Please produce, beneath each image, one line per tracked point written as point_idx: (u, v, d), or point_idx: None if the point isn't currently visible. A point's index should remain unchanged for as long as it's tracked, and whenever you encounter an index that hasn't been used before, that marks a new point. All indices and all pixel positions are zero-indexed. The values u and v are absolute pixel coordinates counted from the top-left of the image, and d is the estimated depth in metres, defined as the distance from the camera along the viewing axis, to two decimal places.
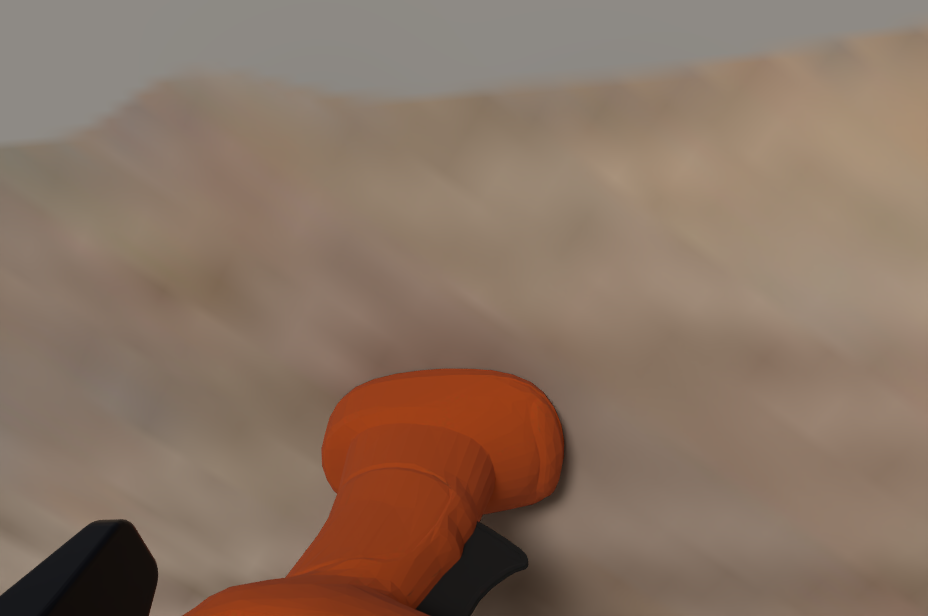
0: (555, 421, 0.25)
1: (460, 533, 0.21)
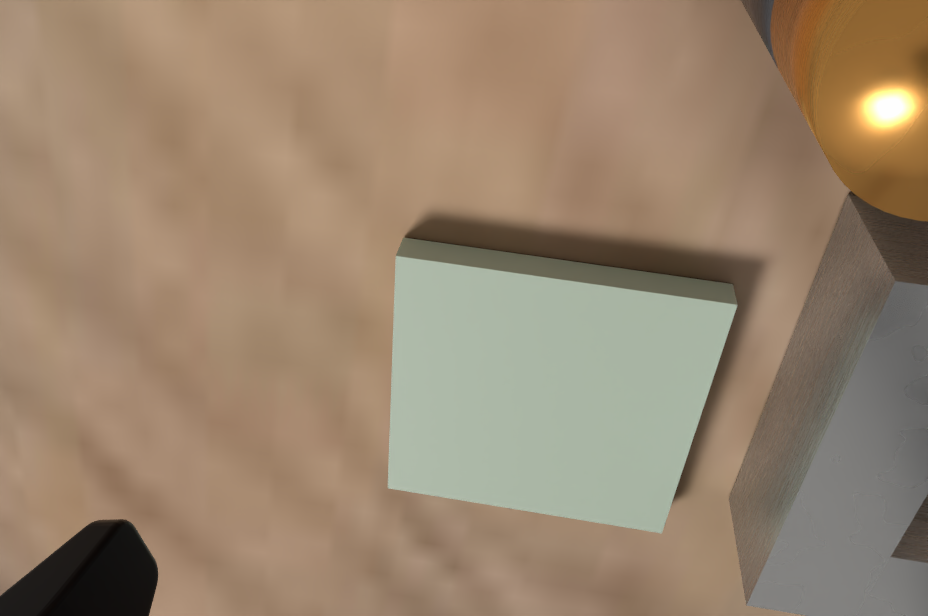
0: None
1: None
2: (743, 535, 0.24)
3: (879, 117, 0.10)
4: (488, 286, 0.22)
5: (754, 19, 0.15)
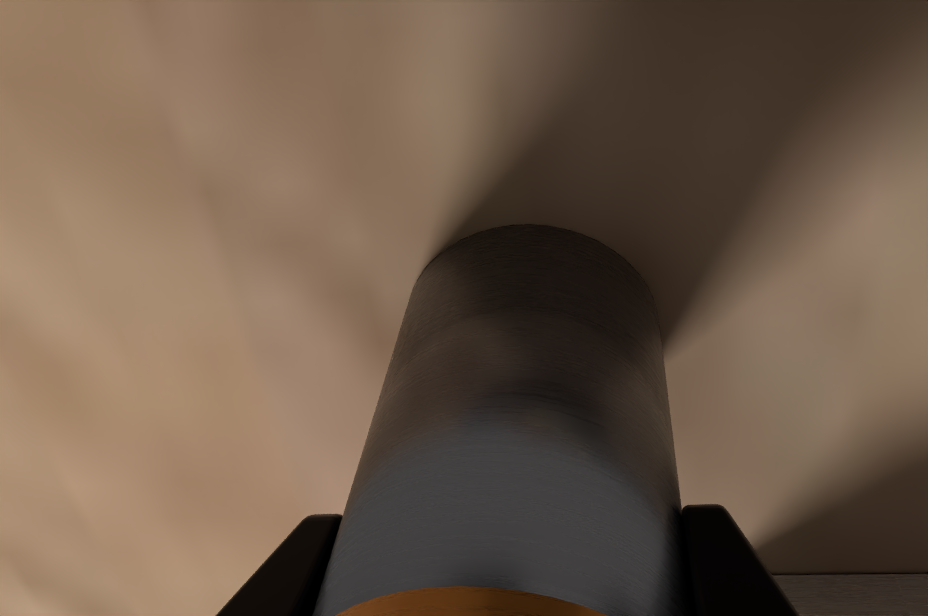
0: None
1: None
2: None
3: None
4: None
5: None
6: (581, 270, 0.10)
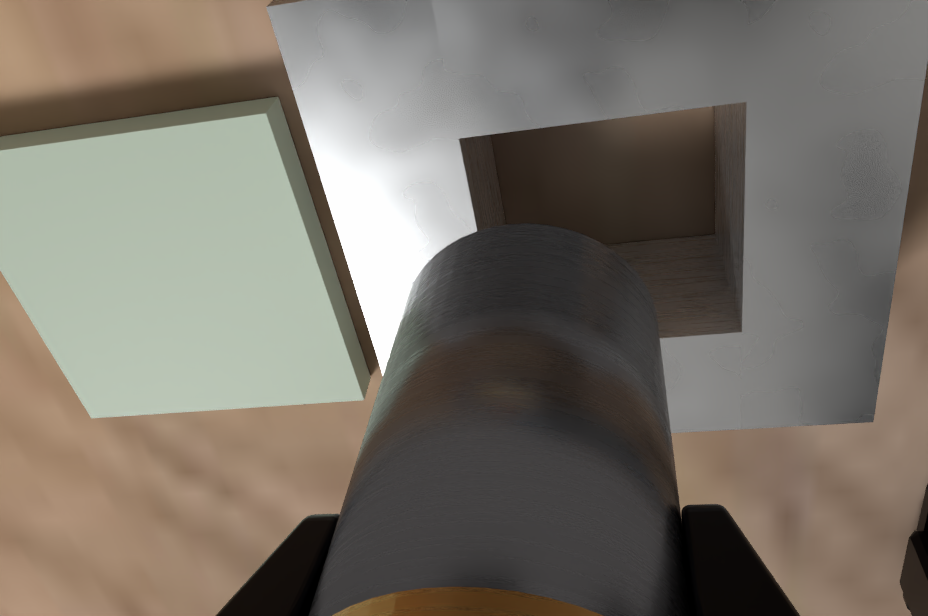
0: None
1: None
2: None
3: None
4: (31, 167, 0.20)
5: None
6: (579, 269, 0.10)
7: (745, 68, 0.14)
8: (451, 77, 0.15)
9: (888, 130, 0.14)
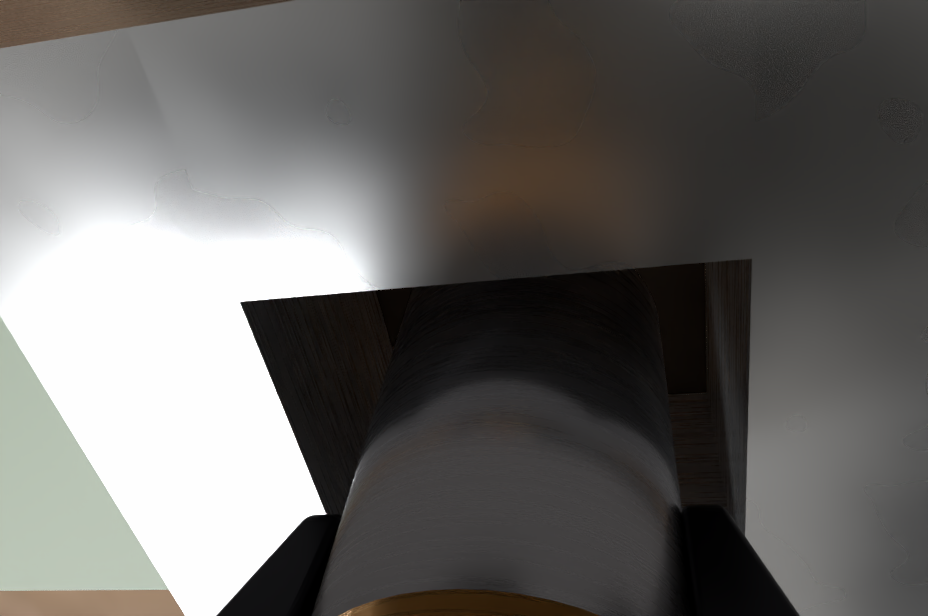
0: None
1: None
2: None
3: None
4: None
5: None
6: None
7: (749, 201, 0.07)
8: (207, 202, 0.08)
9: None
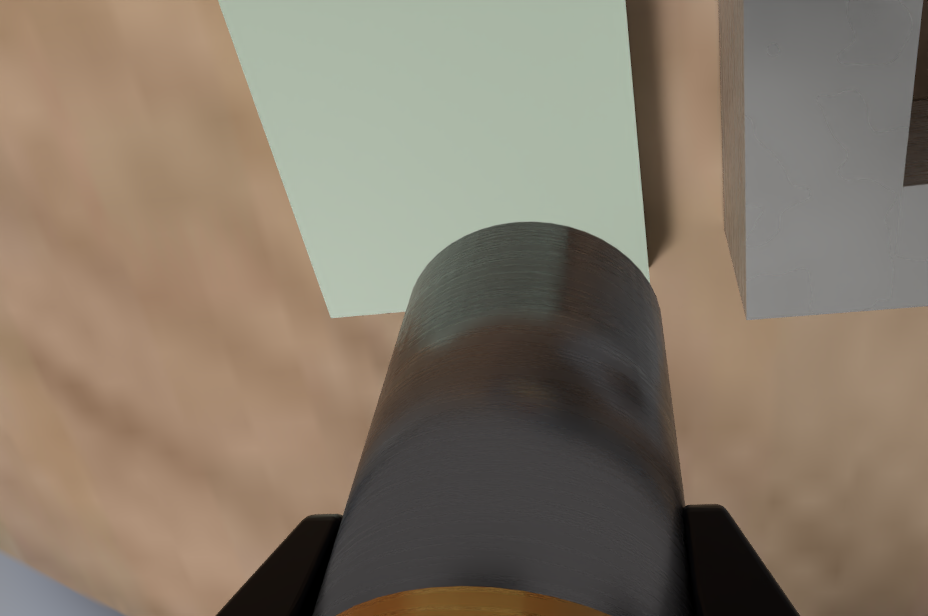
0: None
1: None
2: (734, 248, 0.19)
3: None
4: (328, 3, 0.18)
5: None
6: (584, 268, 0.10)
7: None
8: None
9: None
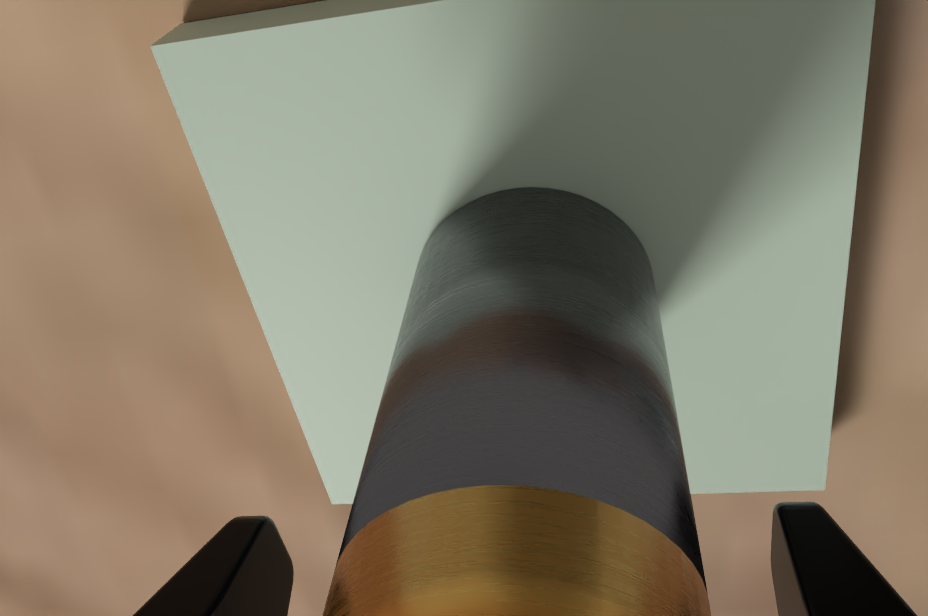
0: None
1: None
2: None
3: None
4: (342, 60, 0.11)
5: None
6: (583, 226, 0.11)
7: None
8: None
9: None
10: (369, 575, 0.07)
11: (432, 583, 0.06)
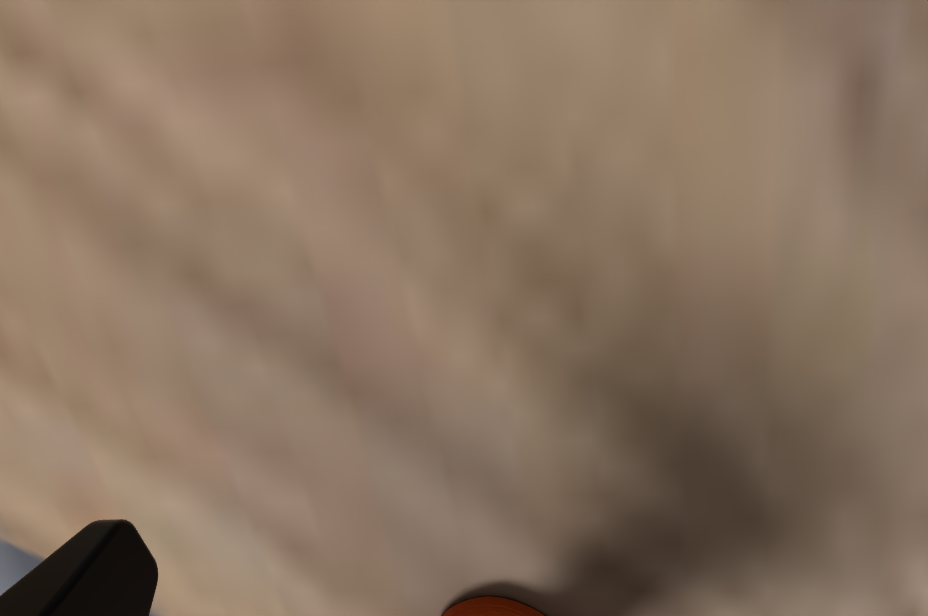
0: None
1: None
2: None
3: None
4: None
5: None
6: None
7: None
8: None
9: None
10: None
11: None
